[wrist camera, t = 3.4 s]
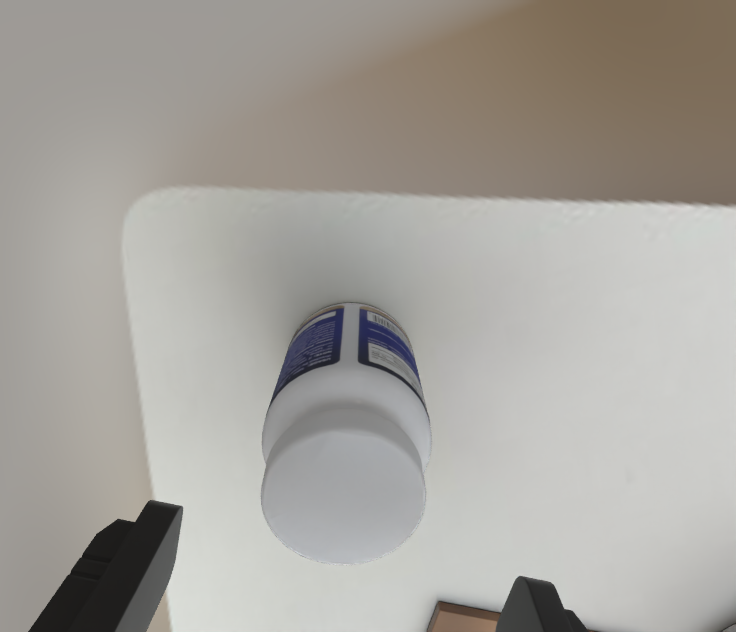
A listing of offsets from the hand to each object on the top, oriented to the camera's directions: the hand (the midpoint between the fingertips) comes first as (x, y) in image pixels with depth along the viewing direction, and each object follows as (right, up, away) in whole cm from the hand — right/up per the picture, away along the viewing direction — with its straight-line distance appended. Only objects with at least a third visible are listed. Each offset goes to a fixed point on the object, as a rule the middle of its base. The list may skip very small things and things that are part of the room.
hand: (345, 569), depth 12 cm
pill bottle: (0, +4, +12) cm, 13 cm away
